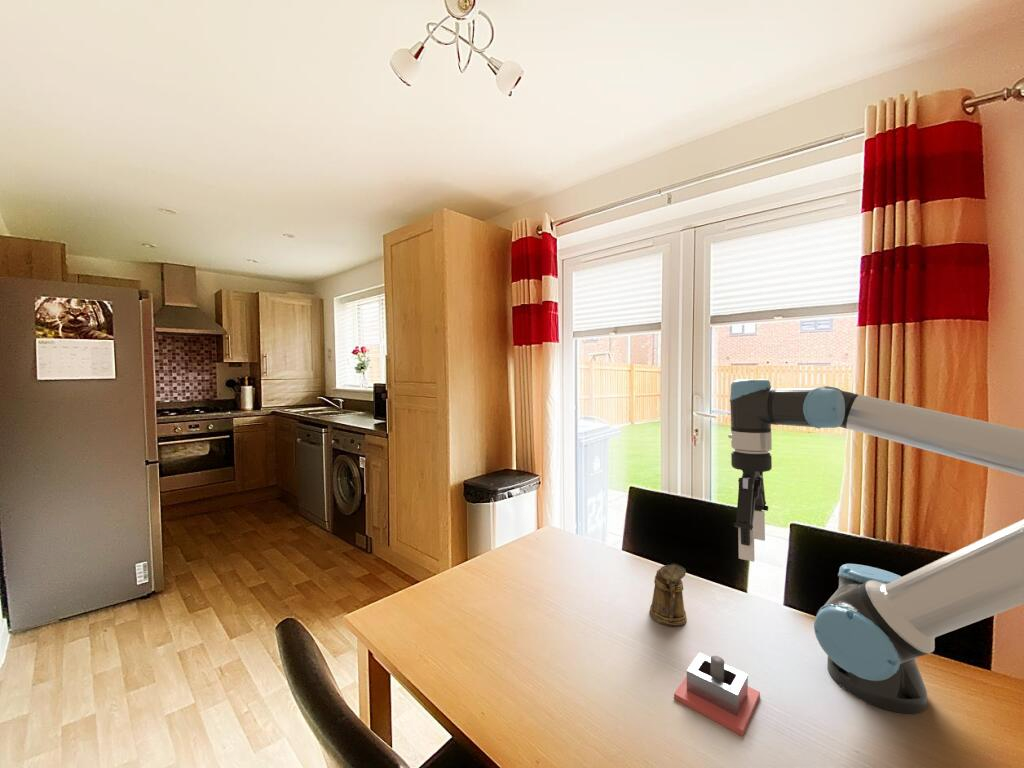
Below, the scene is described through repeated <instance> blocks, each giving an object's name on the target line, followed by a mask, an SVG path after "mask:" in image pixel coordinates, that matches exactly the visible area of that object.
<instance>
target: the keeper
mask: <svg viewBox="0 0 1024 768" xmlns="http://www.w3.org/2000/svg"><path fill="white" fill-rule="evenodd" d="M710 658H711V670H710V676H711V677H713V678H715V679H717V680H719V681H721V682H723V683H724V664H725V660H724V658H722V657H721V656H718V655H711V656H710ZM673 696H674V697H673V699H674V700H676V701H677V702H679V703H680V704H681V703H682V704H683V705H685V706H687V707H689V708H690V709H692V710H694V711H696V712H697V713H700V714H701V715H703V716H705V717H707V718H709V720H713V721H714V722H716V723H718V724H720V725H721V726H723V727H725V728H727V729H728V730H730V731H732V732H734V733H735V734H737V735H740V736H741V737H744V735H745V733H746V732H745V731H746V730H747V727H748V725H749V722H750V721H751V718H752V716H753V714H754V711H755V709H756V706H757V704H758V702H759V700H760V698H761V691H759V690H756V689H754V688H752V687H750V686H748V695H747V697H746V699H745V701H744V703H743V705H742V708H741V710H740V712H739V714H738V716H735V715H733V714H731V713H729V712H727V711H725V710H723V709H722V708H720V707H718V706H716V705H714V704H712V703H710V702H708V701H706V700H704V699H702V698H701V697H699V696H697V695H695V694H693V693H691V692H689V691H687V675H686V676H685V678H684V679H683V680H682V681H681V683H680V685H679V686H678V688H677V689H676V690H675V692H674V694H673Z"/></svg>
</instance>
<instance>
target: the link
mask: <svg viewBox="0 0 1024 768" xmlns="http://www.w3.org/2000/svg"><path fill="white" fill-rule="evenodd" d="M710 670H711V656H708V655H705V654H704V653H701V652H699V653H698V654H697V655H696V657H695V658H694V659H693V661H692V662H691V664H690V665H689V666H688V668H687V669H686V676H687V691H689V692H691V693H693V694H695V695H697V696H699V697H701V698H702V699H704V700H706V701H708V702H710V703H712V704H714V705H716V706H718V707H720V708H722V709H723V710H725V711H727V712H729V713H731V714H733V715H735V716H738V714H739V712H740V710H741V708H742V705H743V703H744V701H745V699H746V697H747V695H748V687H749V685H748V684H749V682H748V681H749V679H748V678H749V674H748V673H745V672H744V671H742V670H739V669H737V668H734V667H733V666H730V665H728V664H725V663H724V683H723V682H721V681H719V680H717V679H715V678H713V677H711V676H710Z"/></svg>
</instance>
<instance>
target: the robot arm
mask: <svg viewBox="0 0 1024 768" xmlns="http://www.w3.org/2000/svg"><path fill="white" fill-rule="evenodd" d="M729 403H730V404H729V405H730V431H731V433H730V434H728V435H727V437H728V439H731V441H730V443H731V444H730V445H731V448H732V449H733V450H732V451H731V455H730V459H731V460H730V461H731V463H730V464H731V467H732V468H733V469H735V470H739V471H742V475H741V477H738V480H737V481H738V491H737V492H738V493H737V494H738V495H737V505H736V506H737V507H736V517H735V519H736V520H735V522H733V527H735V528H738V529H737V532H738V533H737V534H738V535H737V537H738V541H737V542H738V559H740V560H744V561H750V562H753V563H754V562H755V540H758V541H764V542H765V540H766V524H765V523H766V519H765V516H766V515H765V514H766V513H765V512H768V511H769V506H768V505H767V502H766V495H765V485H764V473H766V472H770V471H771V470H772V468H773V467H772V466H773V465H772V462H773V461H772V459H773V458H772V453H771V452H770V451H771V450H772V449H773V447H772V446H773V445H772V425H774V426H793V427H805V428H806V427H809V428H815V429H821V428H823V429H827V428H828V429H830V428H831V429H837V428H843V429H847V430H851V431H854V432H859V433H863V434H866V435H870V436H873V437H877V438H880V439H883V440H888V441H891V442H895V443H898V444H902V445H906V446H910V447H914V448H917V449H919V450H925V451H929V452H931V453H936V454H939V455H943V456H947V457H950V458H954V459H957V460H960V461H961V460H962V461H965V462H968V463H971V464H976V465H979V466H983V467H986V468H990V469H993V470H998V471H1001V472H1005V473H1009V474H1013V475H1015V476H1019V477H1022V478H1023V477H1024V429H1022V428H1019V427H1018V428H1017V427H1013V426H1008V425H1004V424H999V423H994V422H990V421H985V420H980V419H975V418H971V417H968V416H962V415H957V414H953V413H948V412H943V411H938V410H934V409H929V408H924V407H918V406H915V405H911V404H906V403H901V402H896V401H892V400H888V399H882V398H879V397H873V396H870V395H869V396H868V395H864V394H858V393H854V392H849V391H845V390H842V389H840V388H838V387H833V386H828V385H827V386H819V387H810V388H809V387H808V388H806V387H805V388H773V387H772V386H771V382H770V380H769V379H736V380H733V381H732V382H731V384H730V396H729ZM837 577H838V578H839V579H838V588H837V589H836V591H835V592H834V593H833V594H832V595H831V596H830V598H829V599H828V600H827V601H826V602H825V603H824V605H823V606H821V607H820V608H819V609H818V611H816V612H817V613H816V616H815V619H814V623H813V629H814V634H815V638H816V640H817V642H818V644H819V645H820V646H819V647H821V649H822V650H823V651H824V653H825V654H826V655H827V659H826V660H827V661H826V662H827V666H826V667H827V672H828V673H829V674H830V676H831V678H832V679H833V680H834V681H835V682H836V683H837V684H838V685H839V686H840V687H841V688H843V689H844V690H846V691H847V692H848V693H850V694H851V695H853V696H855V697H857V698H859V700H862V701H864V702H866V703H868V704H870V705H873V706H875V707H878V708H882V709H884V710H888V711H892V712H896V713H901V714H916V713H917V714H918V713H921V712H923V711H925V710H926V709H927V706H928V691H927V688H926V686H925V685H926V684H925V683H924V680H923V678H922V674H921V672H920V670H919V669H920V668H919V667H918V664H917V662H916V659H918V658H920V657H923V656H926V655H929V654H932V653H933V652H934V651H935V648H936V646H935V645H936V644H935V643H936V642H935V639H936V638H937V637H940V636H942V635H945V634H947V633H950V632H953V631H956V630H958V629H961V628H963V627H967V626H969V625H971V624H974V623H977V622H980V621H982V620H984V619H987V618H990V617H994V616H996V615H999V614H1001V613H1004V612H1006V611H1009V610H1011V609H1015V608H1017V607H1019V606H1023V605H1024V518H1022V519H1021V520H1018V521H1016V522H1014V523H1012V524H1010V525H1008V526H1005V527H1003V528H1001V529H999V530H998V531H995V532H993V533H991V534H989V535H987V536H984V537H983V538H980V539H978V540H975V541H974V542H972V543H970V544H968V545H966V546H964V547H962V548H960V549H957V550H955V551H952V553H949V554H947V555H944V556H943V557H941V558H938V559H937V560H934V561H933V562H930V563H928V564H925V565H924V566H922V567H920V568H918V569H916V570H913V571H911V572H909V573H907V574H905V575H903V576H901V575H899V574H896V573H894V572H891V571H888V570H885V569H881V568H879V567H873V566H870V565H864V564H857V563H845V564H842V565H841V566H840V567H839V570H838V573H837Z"/></svg>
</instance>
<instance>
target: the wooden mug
mask: <svg viewBox="0 0 1024 768" xmlns="http://www.w3.org/2000/svg"><path fill="white" fill-rule="evenodd" d="M686 572H687V570H686V568H685V567H683V566H682V565H680V564H678V563H669V564H666V565H663V566H661V567H660V568H659V569H658V570H657V571H656V574H655V576H654V583H653V584H654V589H653V593H652V601H651V604H650V608H649V614H650V615H649V616H650V617H651V618H652V619H653V620H654V621H656V622H658V623H659V624H661V625H665V626H670V627H681V626H684V625H685V624H686V622H687V620H688V618H687V612H686V609H685V604H684V596H683V590H684V583H683V581H682V579H683V578H684V577H685V576H686Z"/></svg>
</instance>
